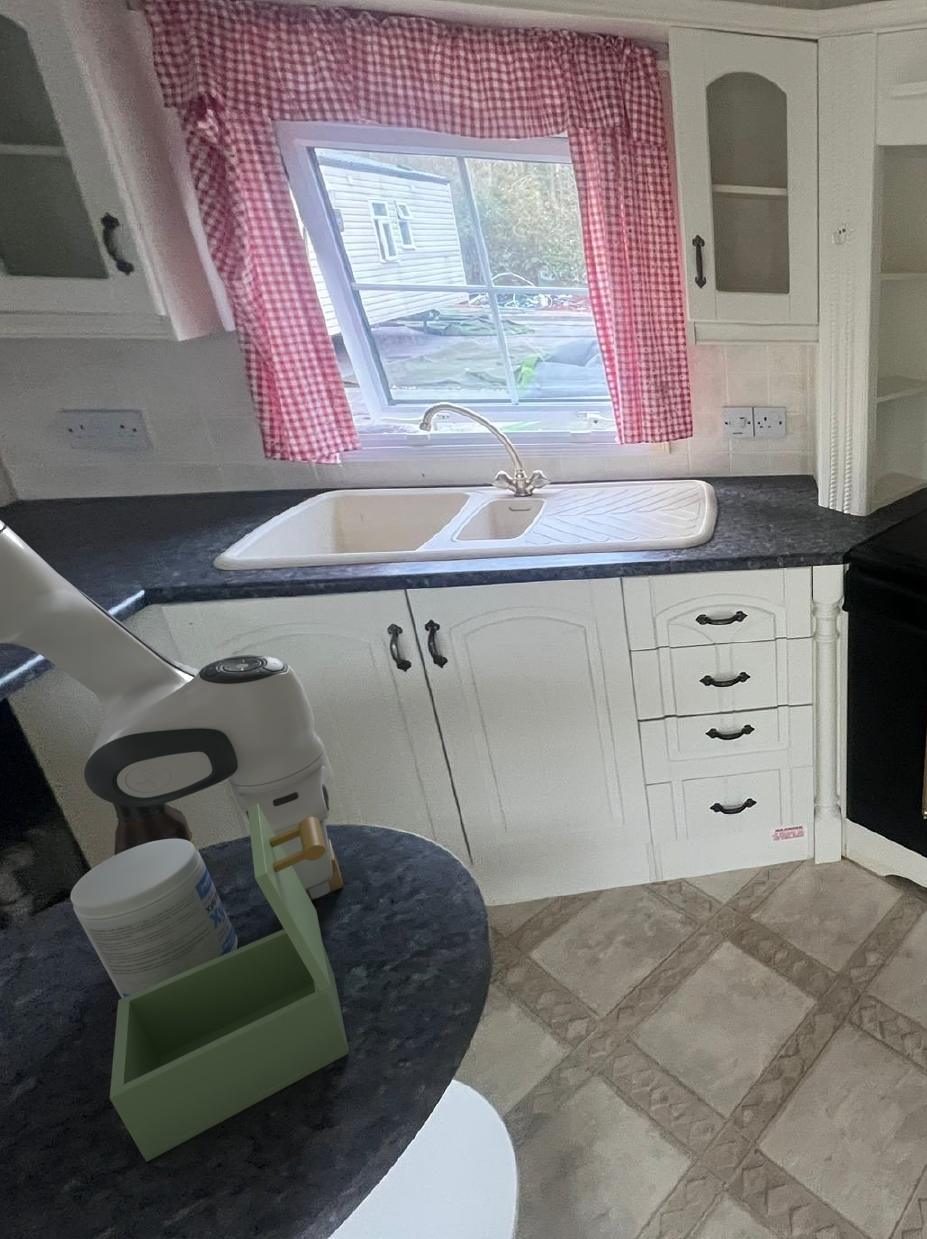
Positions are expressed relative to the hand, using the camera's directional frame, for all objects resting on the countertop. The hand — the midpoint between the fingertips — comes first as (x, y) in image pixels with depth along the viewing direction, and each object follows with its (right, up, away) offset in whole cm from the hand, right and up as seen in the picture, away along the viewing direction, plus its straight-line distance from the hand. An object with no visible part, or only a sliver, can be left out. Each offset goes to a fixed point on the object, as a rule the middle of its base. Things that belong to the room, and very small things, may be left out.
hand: (316, 869), depth 92 cm
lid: (+14, +6, -21) cm, 26 cm away
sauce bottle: (-13, -4, -4) cm, 14 cm away
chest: (+9, -11, -19) cm, 23 cm away
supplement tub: (-6, -7, -10) cm, 14 cm away
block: (0, -2, +1) cm, 3 cm away
